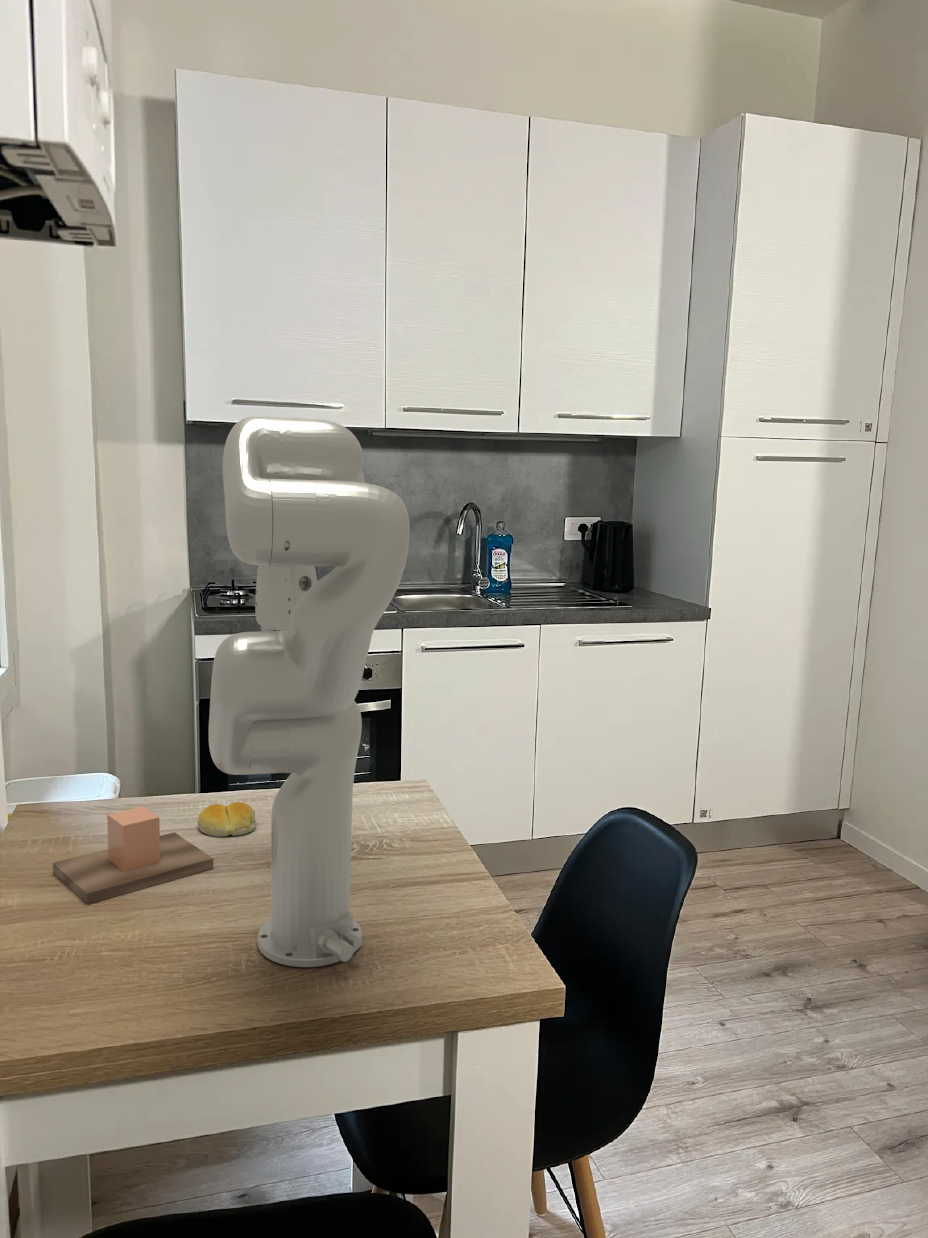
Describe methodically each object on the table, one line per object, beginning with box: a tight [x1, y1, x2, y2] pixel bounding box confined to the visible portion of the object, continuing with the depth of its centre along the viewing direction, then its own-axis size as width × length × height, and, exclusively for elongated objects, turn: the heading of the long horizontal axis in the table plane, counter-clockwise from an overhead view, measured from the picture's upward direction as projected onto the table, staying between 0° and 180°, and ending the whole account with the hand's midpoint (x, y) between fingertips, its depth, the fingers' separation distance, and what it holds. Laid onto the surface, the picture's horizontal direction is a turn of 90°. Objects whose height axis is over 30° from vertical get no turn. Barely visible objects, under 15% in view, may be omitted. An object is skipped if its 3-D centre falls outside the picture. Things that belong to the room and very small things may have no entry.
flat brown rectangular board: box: [52, 832, 214, 905], centre depth 133 cm, size 12×18×7 cm, turn 133°
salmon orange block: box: [106, 806, 161, 871], centre depth 133 cm, size 5×5×7 cm
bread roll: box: [197, 801, 257, 838], centre depth 150 cm, size 8×9×4 cm
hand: (284, 677), depth 139 cm, fingers closed
